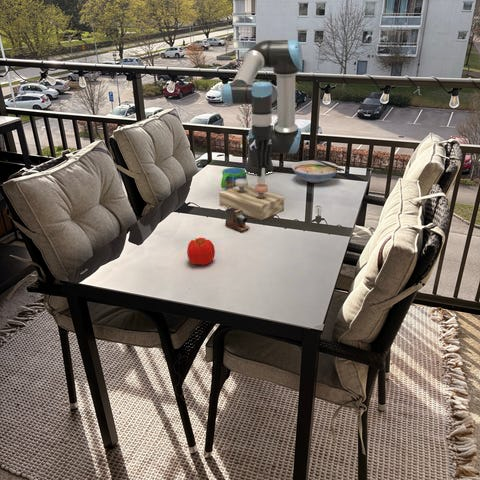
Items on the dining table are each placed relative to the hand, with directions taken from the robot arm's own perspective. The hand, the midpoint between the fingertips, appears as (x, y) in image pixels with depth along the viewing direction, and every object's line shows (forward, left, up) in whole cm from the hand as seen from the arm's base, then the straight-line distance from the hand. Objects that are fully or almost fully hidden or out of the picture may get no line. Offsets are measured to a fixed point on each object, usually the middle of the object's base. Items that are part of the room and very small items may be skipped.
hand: (261, 183), depth 187 cm
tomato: (+47, +15, -12) cm, 51 cm away
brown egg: (0, 0, -8) cm, 8 cm away
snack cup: (-10, -26, -12) cm, 30 cm away
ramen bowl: (-48, -8, -12) cm, 50 cm away
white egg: (0, -11, -8) cm, 13 cm away
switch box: (0, -6, -12) cm, 13 cm away
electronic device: (+19, +5, -13) cm, 23 cm away
